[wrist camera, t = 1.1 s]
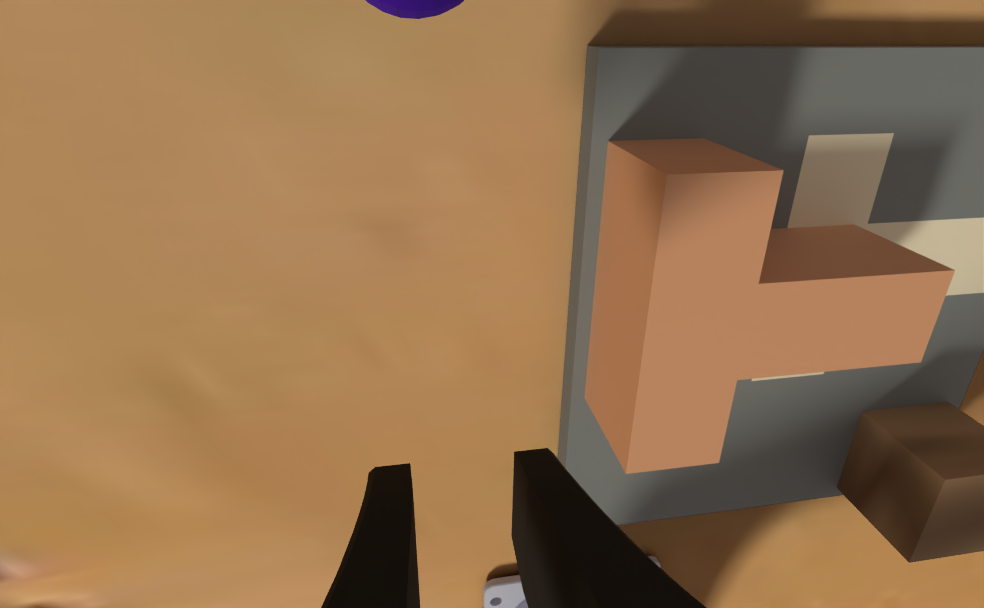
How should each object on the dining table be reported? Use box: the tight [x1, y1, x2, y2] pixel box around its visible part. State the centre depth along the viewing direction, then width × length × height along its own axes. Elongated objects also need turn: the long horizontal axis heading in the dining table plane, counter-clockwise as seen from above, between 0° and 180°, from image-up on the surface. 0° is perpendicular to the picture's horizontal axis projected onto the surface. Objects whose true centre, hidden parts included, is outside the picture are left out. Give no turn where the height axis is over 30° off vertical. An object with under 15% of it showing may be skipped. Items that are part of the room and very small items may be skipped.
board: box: [558, 46, 984, 525], centre depth 22 cm, size 18×17×1 cm
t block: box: [584, 138, 955, 474], centre depth 19 cm, size 9×9×4 cm
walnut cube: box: [837, 402, 984, 563], centre depth 24 cm, size 4×4×4 cm
